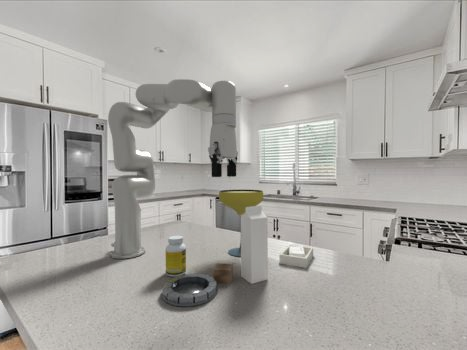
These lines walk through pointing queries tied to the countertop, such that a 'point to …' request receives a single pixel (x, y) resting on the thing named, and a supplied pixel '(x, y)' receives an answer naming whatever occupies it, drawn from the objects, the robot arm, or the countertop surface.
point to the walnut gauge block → (223, 273)
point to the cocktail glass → (240, 205)
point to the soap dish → (296, 261)
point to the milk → (254, 245)
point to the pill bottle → (175, 256)
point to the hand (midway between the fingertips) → (224, 176)
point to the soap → (296, 251)
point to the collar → (189, 290)
